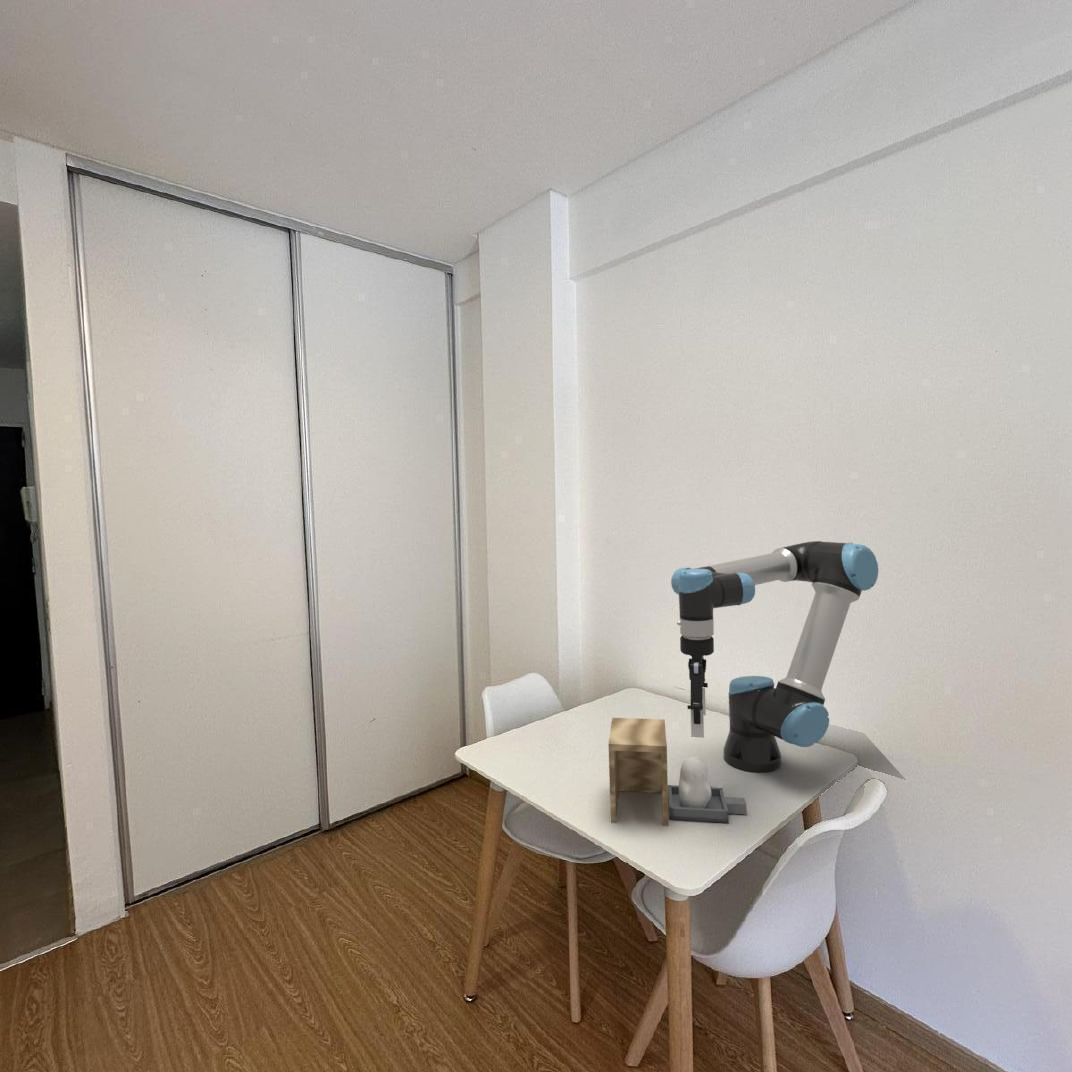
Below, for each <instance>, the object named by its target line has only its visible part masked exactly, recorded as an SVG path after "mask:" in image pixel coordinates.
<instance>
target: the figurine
mask: <svg viewBox="0 0 1072 1072" xmlns="http://www.w3.org/2000/svg"><path fill="white" fill-rule="evenodd" d="M679 772H680V773H679V779H678V786H679V798H680V802H681V805H682V806H683V807H689V808H705V807H706V806H707V803H708V802H709V800H710V798H711V787H712V786H711V784H710V781H709V777H708V776H709V768H708V765H707V763H706V761H705V760H703V758H701V757H700V756H696V755H691V756H688V757H686V758H685V759H684V760H683V761H682V763H681V765H680V771H679Z"/></svg>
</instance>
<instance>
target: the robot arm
mask: <svg viewBox="0 0 1072 1072" xmlns="http://www.w3.org/2000/svg"><path fill="white" fill-rule="evenodd" d="M878 577H879V564H878V561H877V557H876V555H875V553H874V552H873V551H872V549H871V548H869V547H867V545H864V544H858V543H853V542H835V541H833V542H832V541H820V540H817V541H806V542H802V543H795V544H792V545H787V546H784V547H778V548H776V549H774V550H773V551H772V552H771V553H768V554H761V555H757V556H752V557H751V556H750V557H748V558H747V557H746V558H743V559H742V558H741V559H737V560H730V561H728V562H723V563H717V564H712V565H707V566H701V567H697V568H696V567H695V568H691V567H680V568H678V569H676V570H675V571H674V572H673V573H672V576H671V581H670V584H671V588H672V590H673V592H674V593H675V594H676V595H678V605H679V607H678V608H679V621H677V622H676V624H677V626H680V627H679V629H680V630H679V631H680V635H681V636H680V637H679V643H680V644H679V645H680V646H679V648H680V652H681V653H682V654H683V655H686V656H691V658H688V662H687V665H688V666H687V667H688V672H689V673H688V675H689V677H688V679H689V680H690V705H689V704H688V705H687V706H686V707H687V710H690V737H692V738H701V739H704V738H705V731H704V729H705V728H704V727H705V725H704V724H705V722H704V719H705V718H704V717H705V716H706V714H707V713H706V712H707V710H706V707H707V706H706V689H707V688H709V687H708V683H709V682H706V671H707V659H706V658H705V659H704V657H705V656H706V657H707V656H710V655H712V654H713V653H714V652H715V651H714V650H715V643H714V637H713V635H714V633H715V631H714V630H715V626H714V622H715V621H714V609H718V608H726V607H734V606H741V605H744V604H748V603H750V602H752V600H753V599H754V598H755V596H756V586H757V585H761V584H766V583H770V582H775V581H780V582H784V583H786V582H787V583H788V582H792V581H793V582H794V581H797V582H808V583H811V586H812V588H813V590H814V592H815V593H814V595H813V599H812V602H811V605H810V608H809V609H808V614H807V616H806V618H805V621H804V625H803V628H802V631H801V633H800V636H799V639H798V643H797V645H796V648H795V651H794V654H793V657H792V660H791V663H790V666H789V668H788V672H787V674H786V677H784V678H782V679H780V680H777V683H776V687H775V683H774V679H773V678H771V677H769V676H763V675H761V676H760V675H748V676H746V675H745V676H738V677H736V678H733V679H731V681H730V682H729V686H728V688H729V689H728V692H727V693H728V714H729V716H728V717H729V731H728V735H727V738H726V741H725V743H724V746H723V759H724V760H723V761H725V763H727V764H728V765H730V766H732V767H734V768H737V769H739V770H742V771H745V772H746V771H747V772H757V773H767V772H771V771H775V770H777V769H779V768H780V767H781V766H782V753H781V750H780V747H779V745H778V744H779V743H778V741H777V738H778V739H780V740H783V741H784V742H785V743H789V744H791V745H794V746H797V747H801V748H808V747H812V746H813V745H814V744H818V742H820V740H822V739H823V737H824V736H825V735H826V732H827V731H828V728H829V726H830V717H829V715H830V714H829V711H828V709H827V708H826V707H825V706H824V705H825V701H826V698H825V695H824V694H823V691H822V689H823V685H824V683H825V681H826V677H827V674H828V673H829V669H830V666H831V664H832V663H831V662H832V660H833V657H834V654H835V652H836V651H835V650H836V647H837V644H838V642H839V638H840V637H841V633H842V630H843V627H844V624H845V621H846V618H847V615H848V612H849V609H850V606H851V604H852V603H854V602H856V601H859V599H860V597H861V594H862V592H863V591H868V590H870V589H872V587H874V586H875V585H876V583H877V580H878Z"/></svg>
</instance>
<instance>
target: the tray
mask: <svg viewBox="0 0 1072 1072" xmlns="http://www.w3.org/2000/svg"><path fill="white" fill-rule="evenodd" d="M710 787H711V798H710V800H709V802H708V803H707V806H706V807H705V808H689V807H683V806H682V805H681V802H680V798H679V784H677V785H676V784H675V785H674V784H668V816H669V820H675V821H676V820H678V821H679V820H680V821H696V822H707V823H725V824H727V823H729V822H730V820H729V819H730V818H729V816H730V815H729V814H731V815H748V814H747V803H746V802H747V801H746V800H745V797H733V796H730V797H729V796H725V792H724V788H723V787H715V786H714V787H713V786H710Z"/></svg>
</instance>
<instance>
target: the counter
mask: <svg viewBox="0 0 1072 1072" xmlns="http://www.w3.org/2000/svg"><path fill="white" fill-rule="evenodd" d="M666 732H667V731H666V719H665V718H663V719H662V718H639V717H638V718H637V717H635V718H633V717H611V725H610V732H609V737H608V772H609V775H608V776H609V807H610V823H617V818H618V817H617V814H618V805H619V795H620V793H619V792H620V791H621V792H622V791H623V792H634V793H635V792H637V793H638V792H639V793H653V794H654V793H655V794H656V793H657V794H661V795H662V826H663V827H664V826H665V827H666V826H667V827H668V826H669V824H670V823H669V820H670V818H669V802H668V785H669V784H668V746H667V743H668V742H667V733H666Z"/></svg>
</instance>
